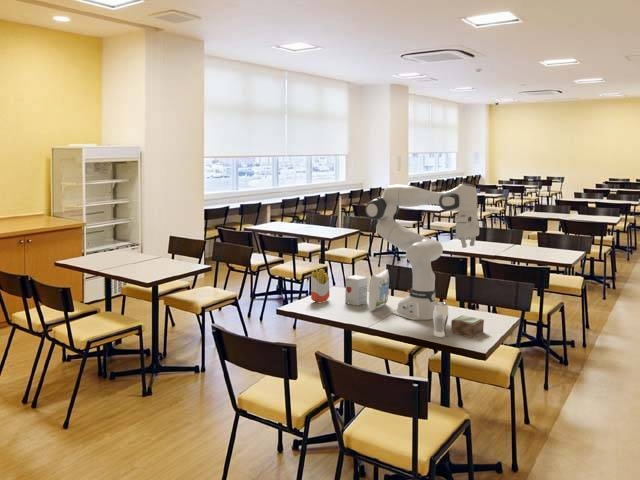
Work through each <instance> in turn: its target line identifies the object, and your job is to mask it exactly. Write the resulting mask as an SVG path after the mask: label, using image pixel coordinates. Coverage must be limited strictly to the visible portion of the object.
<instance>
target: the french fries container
mask: <svg viewBox="0 0 640 480" xmlns="http://www.w3.org/2000/svg"><path fill="white" fill-rule="evenodd" d="M324 271H325V270H324V268H320V269H319V270H318V269H316V270H315V271H312V272H311V276H310V277H311V278H310V280H311V281H310V282H311V283H310V284H311V285H310V286H311V287H310V288H311V289H310V298H311V299H310V300H312V301H313V302H314V301H315V302H314V303H317V302H322V303H324V302H323V301H326V300H327V301H328V299H329V298H330V277H329V275H328V273H327V272H324ZM327 301H326V302H327Z"/></svg>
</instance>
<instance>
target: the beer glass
mask: <svg viewBox="0 0 640 480" xmlns="http://www.w3.org/2000/svg"><path fill="white" fill-rule="evenodd" d="M434 302H435V301H434ZM448 319H449V303H447V302H442V301H436V302H435V303H434V305H433V319H432V320H433V332H432V336H433V337H435V338H438V339H439V338H440V339H442V338H443V339H444V338H447V329H446V328H447V325H448V324H447V323H448Z"/></svg>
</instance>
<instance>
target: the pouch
mask: <svg viewBox="0 0 640 480" xmlns="http://www.w3.org/2000/svg"><path fill="white" fill-rule="evenodd" d="M369 281H370V282H369V293H368V304H369V306H368V308H369V311H370V312H373V311H374V310H376V309H377V308H379V307H380V306H382V305H386V304H387V303H388V301H389V300H388V299H389V289H390V288H389V287H390V275H389V270H388V268H387V269H385V270H383V271H382V272H380V273H378V274H376V275H375V274H372V275H371V277H370V280H369Z"/></svg>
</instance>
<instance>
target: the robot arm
mask: <svg viewBox="0 0 640 480" xmlns="http://www.w3.org/2000/svg"><path fill="white" fill-rule="evenodd" d="M477 191H478V190H477V187H476V186H475V185H473V184H469V183H460V184H458V186H456V187H454V188H453V189H450V190H447V191H445V192H439V191H433V190H432V191H431V190H427V189H424V188H420V187H417V186H413V185H408V184H391V185H388V186H387V187H386V188H385V190H384V191H383V196H378V197H375V198H374V199H372V200H369V201H368V203H366V206H365V214H366V216H367V218H369V219H371V220H374V221H377V223H376V227H375V232H376V233H377V234H378V235H379V236H380V237H381V238H383V240H384V241H387V242H388V243H389V244H391V245H393V246H394V247H396V248H397V249H399V250H401V251H404V252H405V256H406V259H407V260H408V262H409V264H410V266H411V270H412V287H411V288H410V289H407V293H409V294H408V295H407V296H405V297H404V298H402V299H401V300H400V301H399V302H398V304H397V309H394V310H393V311H392V314H393V315H395V316H399V317H402V318H406V319H409V320H412V321H418V320H419V321H420V320H421V321H422V320H423V321H425V320H428V321H429V320H433V305H434V303H435V300H436V287H435V285H436V284H435V283H436V274H435V272H434V271H433V267H432V262H434V261H436V260H438V259H439V258H440V257H441V256H442V254H443V251H444V247H443V244H441V242H440V241H439V240H436V239H432V238H429V237H427V236H425V235H422V234H419V233H417V232H414V231H412V229H411V230H410V229H409V228H407V227H406V226H404V225H402V224H400V223H398V222H397V221H396V220H397V217H398V213H399V211H400V207H403V208H409V207H410V208H413V207H419V206H420V207H421V206H426V205H427V206H428V205H438V206H439V207H440V208H441V210H444V211H446V212H456V211H458V213H457V216H455V217H454V223H455V236H456V238H457V239H460V243H461V248H462V249H465V248H467V246H468V244H467V242H466V241H467V239H469V238H470V242H469V246H470V247H474V246H475V243H476V242H475V241H476V237H479V235H480V224H479V221H478V216H479V215H478V207H477V205H478V193H477Z"/></svg>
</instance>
